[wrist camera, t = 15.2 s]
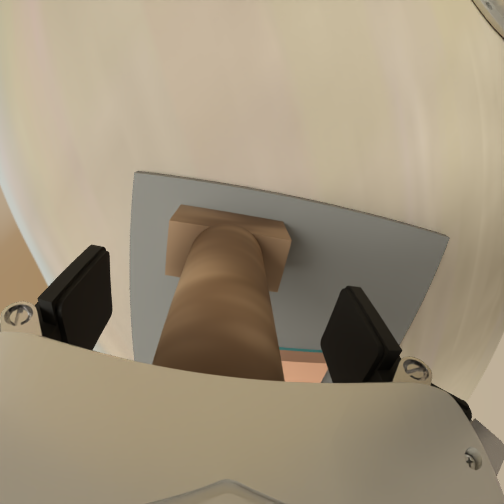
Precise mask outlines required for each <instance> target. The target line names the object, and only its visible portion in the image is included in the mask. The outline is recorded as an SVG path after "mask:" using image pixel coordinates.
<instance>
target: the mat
mask: <svg viewBox="0 0 504 504" xmlns="http://www.w3.org/2000/svg"><path fill="white" fill-rule="evenodd" d="M181 204H182V205H188V206H195V207H201V208H207V209H214V210H220V211H226V212H232V213H238V214H244V215H249V216H255V217H261V218H266V219H272V220H277V221H283V223H284V225H285V227H286V229H287V231H288V234H289V236H290V238H291V240H292V241H291V245H290V249H289V253H288V256H287V260H286V264H285V268H284V271H283V275H282V278H281V282H280V286H279V289H278V292H271V291H269V294H270V300H271V305H272V311H273V317H274V322H275V328H276V333H277V339H278V345H279V347H284V348H296V349H311V350H322V349H321V346H320V343H321V338H322V336H323V333H324V331H325V329H326V326H327V324H328V322H329V319H330V317H331V314H332V312H333V309H334V307H335V304H336V302H337V299H338V297H339V294H340V292H341V290H342V289H343V288H344V289H345V288H346V286H355V287H361V288H362V290H363V291H364V293H365V294H366V295H367V297H368V298H369V300H370V301H371V303H372V304H373V306H374V307H375V309H376V310H377V312H378V313H379V315H380V316H381V318H382V319H383V321H384V322H385V324H386V326H387V327H388V329H389V330H390V332H391V333H392V335H393V336H394V338H395V340H396V341H397V343H398V344H399V345H400V343H401V341H402V339H403V338H404V336H405V334H406V332H407V331H408V329H409V327H410V325H411V323H412V321H413V319H414V317H415V315H416V314H417V312H418V310H419V308H420V306H421V304H422V302H423V299H424V297H425V295H426V293H427V291H428V289H429V287H430V285H431V282H432V280H433V278H434V276H435V273H436V271H437V269H438V266H439V264H440V261H441V259H442V256H443V254H444V251H445V249H446V246H447V244H448V241H449V237H448V236H446V235H444V234H441V233H437V232H434V231H431V230H427V229H424V228H421V227H417V226H414V225H410V224H407V223H403V222H399V221H396V220H392V219H388V218H384V217H381V216H377V215H373V214H369V213H365V212H361V211H357V210H353V209H349V208H345V207H340V206H336V205H332V204H327V203H323V202H318V201H314V200H309V199H305V198H300V197H295V196H290V195H285V194H280V193H275V192H270V191H265V190H260V189H254V188H249V187H243V186H237V185H232V184H226V183H220V182H213V181H207V180H201V179H194V178H187V177H180V176H173V175H165V174H158V173H149V172H141V171H137V172H135V173H134V182H133V193H132V208H131V227H130V307H131V326H132V340H133V351H134V361H137V362H142V363H147V364H152V362H153V359H154V356H155V353H156V349H157V346H158V343H159V340H160V336H161V333H162V330H163V327H164V324H165V321H166V318H167V315H168V312H169V309H170V306H171V303H172V300H173V297H174V294H175V291H176V288H177V285H178V282H179V280H180V277H174V276H168V275H165V266H166V252H167V239H168V228H169V220H170V219H171V217H172V216H173V214H174V213H175V212H176V210H177V209H178V208H179V206H180V205H181ZM321 383H333V382H332V379H331V376H330V373H329V370H327V372H326V374H325V375H324V377H323V379H322V381H321Z"/></svg>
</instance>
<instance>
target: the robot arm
mask: <svg viewBox="0 0 504 504" xmlns="http://www.w3.org/2000/svg"><path fill="white" fill-rule="evenodd" d="M473 1H474V3H475V4H476V6H477V7H478V8H479V10H480V11H481V12H482V14H483V15H484V16H485V18H486V19H487V20H488V21H489V22H490V24H491V25H492V26H493V27H494V28H495V29H496V30H497V31H498V32H499V33H500V34H501V36H502V37H504V0H473ZM111 314H112V297H111V281H110V256H109V252H108V251H106V249H105V247H101V246H96V245H90V246H89V247H88V248H87V249H86V250H85V251H84V252H83V253H82V254H81V255H80V256H78V257H77V258H76V259H75V260H74V261H73V262H72V263H71V264H70V265H69V266H68V267H67V268H66V269H65V270H64V271H63V272H62V273H61V274H60V275H59V276H58V277H57V278H56V279H55V280H54V281H53V282H52V283H51V285H50V286H49V287H48V288H47V289H46V290H45V291H44V292H43V293H42V294H41V295H40V296H39V297H38V302H37V304H36V305H35V306H34V305H33V304H31V303H29V302H16V303H13V304H11V305H9V306H7V307H6V308H5V309H4V310H3V312H2V313H1V317H0V504H504V495H503V492H502V489H501V487H500V484H499V481H498V479H497V477H496V476H497V474H498V472H499V470H500V467H501V465H502V463H503V460H504V444H503V443H502V442H501V440H499V439H498V438H497V437H496V436H495V435H494V434H492V433H491V432H490V431H489V430H488V429H487V428H486V427H484V426H483V425H482V424H481V423H480V422H479V421H478V420H476V419H474V420H473V421H472V420H471V418H472V413H471V410H470V408H469V406H468V404H467V403H466V402H465V401H464V400H461V399H459V398H457V397H456V396H454V395H452V394H450V393H448V392H446V391H445V390H443V389H441V388H439V387H437V386H436V385H434V384H432V383H431V381H432V372H431V370H430V368H429V367H428V366H427V365H426V364H425V363H424V362H423V361H421V360H420V359H418V358H415V357H410V356H408V357H404V358H402V359H401V358H400V356H399V355H400V353H401V352H402V349H401V348H400V346H399V344H398V343H397V341H396V340H395V338H394V336H393V335H392V333H391V332H390V330H389V329H388V327H387V326H386V324H385V322H384V321H383V319H382V318H381V316H380V315H379V313H378V312H377V310H376V309H375V307H374V306H373V304H372V303H371V301H370V300H369V298H368V297H367V295H366V294H365V293H364V291H363V290H362V288H361V287H355V286H346V288H345V289H344V288H343V289H342V290H341V292H340V294H339V297H338V299H337V302H336V304H335V307H334V309H333V312H332V314H331V317H330V319H329V322H328V324H327V326H326V329H325V331H324V333H323V336H322V338H321V343H320V346H321V349H322V352H323V355H324V358H325V361H326V364H327V367H328V370H329V373H330V376H331V379H332V382H333V383H307V382H284V381H268V380H256V379H245V378H235V377H227V376H218V375H211V374H203V373H196V372H190V371H184V370H178V369H172V368H167V367H162V366H157V365H152V364H147V363H142V362H137V361H133V360H128V359H124V358H120V357H116V356H112V355H108V354H104V353H100V352H96V351H93V348H94V346H95V344H96V342H97V341H98V339H99V337H100V335H101V333H102V331H103V330H104V328H105V326H106V324H107V322H108V321H109V319H110V317H111Z"/></svg>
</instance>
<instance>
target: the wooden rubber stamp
mask: <svg viewBox="0 0 504 504" xmlns="http://www.w3.org/2000/svg"><path fill="white" fill-rule="evenodd" d="M291 241H292V240H291V238H290V236H289V234H288V231H287V229H286V227H285V225H284V223H283V221H277V220H272V219H266V218H261V217H255V216H249V215H244V214H238V213H232V212H226V211H220V210H214V209H207V208H201V207H195V206H188V205H182V204H181V205H180V206H179V208H178V209H177V210H176V212H175V213H174V214H173V216H172V217H171V219H170V220H169V228H168V239H167V252H166V266H165V275H168V276H174V277H180V280H179V282H178V285H177V288H176V291H175V294H174V297H173V300H172V303H171V306H170V309H169V312H168V315H167V318H166V321H165V324H164V327H163V330H162V333H161V336H160V340H159V343H158V346H157V349H156V353H155V356H154V359H153V362H152V365H157V366H162V367H167V368H172V369H178V370H184V371H190V372H196V373H203V374H211V375H218V376H227V377H235V378H245V379H256V380H268V381H284V382H285V379H284V373H283V367H282V362H281V356H280V350H279V345H278V339H277V333H276V328H275V322H274V317H273V311H272V305H271V300H270V294H269V291H271V292H278V289H279V286H280V282H281V278H282V275H283V271H284V268H285V264H286V260H287V256H288V253H289V249H290V245H291Z"/></svg>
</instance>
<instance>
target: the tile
mask: <svg viewBox="0 0 504 504" xmlns="http://www.w3.org/2000/svg"><path fill="white" fill-rule="evenodd" d="M279 350H280V356H281V362H282V367H283V373H284V379H285V382H307V383H321V381H322V379H323V377H324V375H325V374H326V372H327V370H328V367H327V364H326V361H325V358H324V355H323V352H322V350H311V349H296V348H284V347H279Z"/></svg>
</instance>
